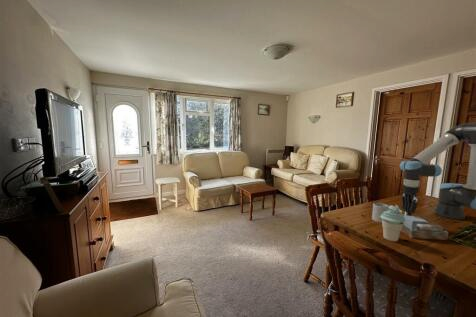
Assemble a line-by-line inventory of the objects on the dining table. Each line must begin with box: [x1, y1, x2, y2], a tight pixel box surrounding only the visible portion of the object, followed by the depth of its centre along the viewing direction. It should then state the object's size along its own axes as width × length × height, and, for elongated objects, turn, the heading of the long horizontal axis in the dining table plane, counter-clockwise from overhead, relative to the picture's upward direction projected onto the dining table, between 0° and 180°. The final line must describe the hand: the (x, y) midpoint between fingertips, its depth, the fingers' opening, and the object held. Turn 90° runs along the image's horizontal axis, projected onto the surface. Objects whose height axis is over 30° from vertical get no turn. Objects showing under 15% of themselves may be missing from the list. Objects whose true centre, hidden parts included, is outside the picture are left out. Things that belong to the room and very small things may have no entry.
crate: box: [403, 215, 429, 229], centre depth 121 cm, size 8×8×7 cm
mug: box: [371, 202, 389, 224], centre depth 135 cm, size 12×8×11 cm
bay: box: [400, 223, 449, 241], centre depth 121 cm, size 18×23×8 cm
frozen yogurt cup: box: [380, 204, 406, 242], centre depth 110 cm, size 10×11×20 cm
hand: (407, 221), depth 128 cm, fingers closed
